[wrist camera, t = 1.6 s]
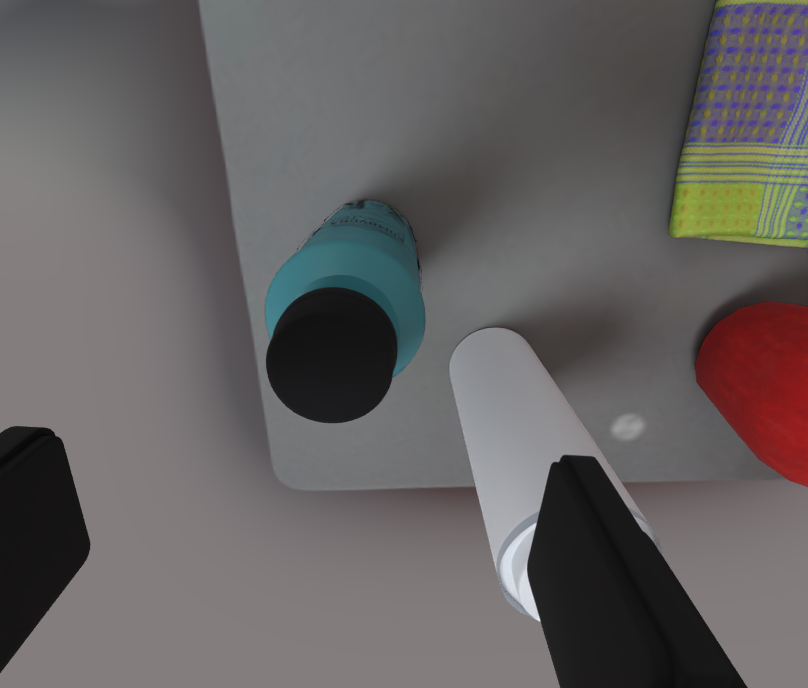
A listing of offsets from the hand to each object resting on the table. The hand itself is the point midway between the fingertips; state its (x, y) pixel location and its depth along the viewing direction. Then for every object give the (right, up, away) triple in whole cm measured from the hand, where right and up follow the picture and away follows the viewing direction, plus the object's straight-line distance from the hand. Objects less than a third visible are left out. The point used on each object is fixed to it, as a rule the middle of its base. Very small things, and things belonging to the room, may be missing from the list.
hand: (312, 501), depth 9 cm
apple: (+28, +3, +27) cm, 39 cm away
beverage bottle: (-1, +10, +23) cm, 25 cm away
